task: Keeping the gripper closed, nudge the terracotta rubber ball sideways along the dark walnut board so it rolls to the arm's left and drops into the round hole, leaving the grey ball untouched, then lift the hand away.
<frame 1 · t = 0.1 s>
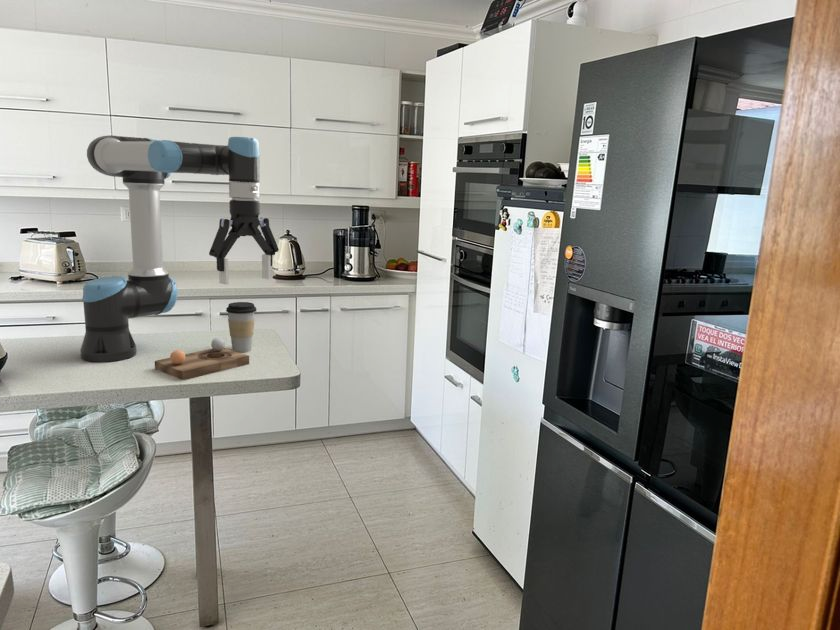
hand: (245, 281, 162), 28 cm above the table, fingers open, 13 cm apart
grey ball: (218, 344, 187), point 4 cm above the table, touching deck
coffee cup: (242, 350, 198), on the table
ball: (177, 357, 172), point 4 cm above the table, touching deck
deck: (203, 366, 179), on the table
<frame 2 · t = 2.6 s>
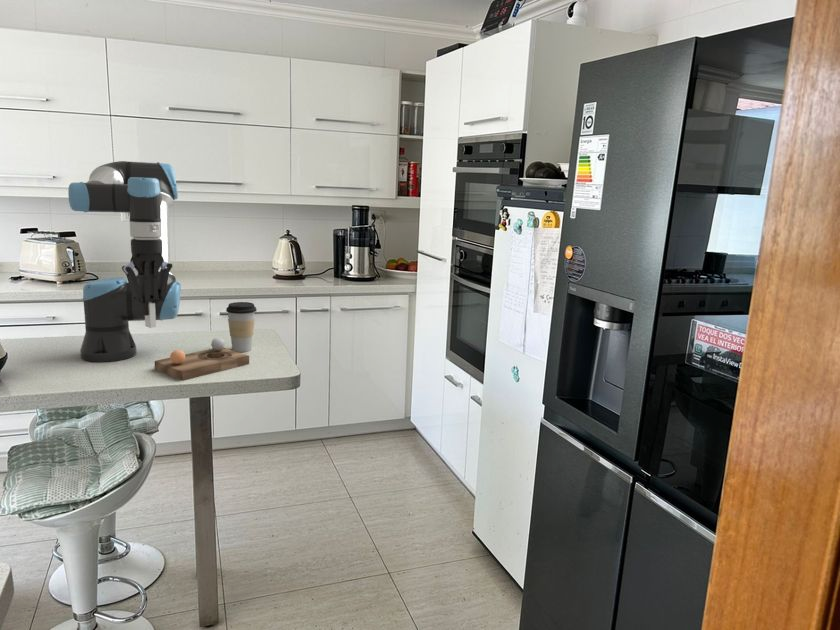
hand: (150, 326, 164), 15 cm above the table, fingers closed
nothing on the table moved.
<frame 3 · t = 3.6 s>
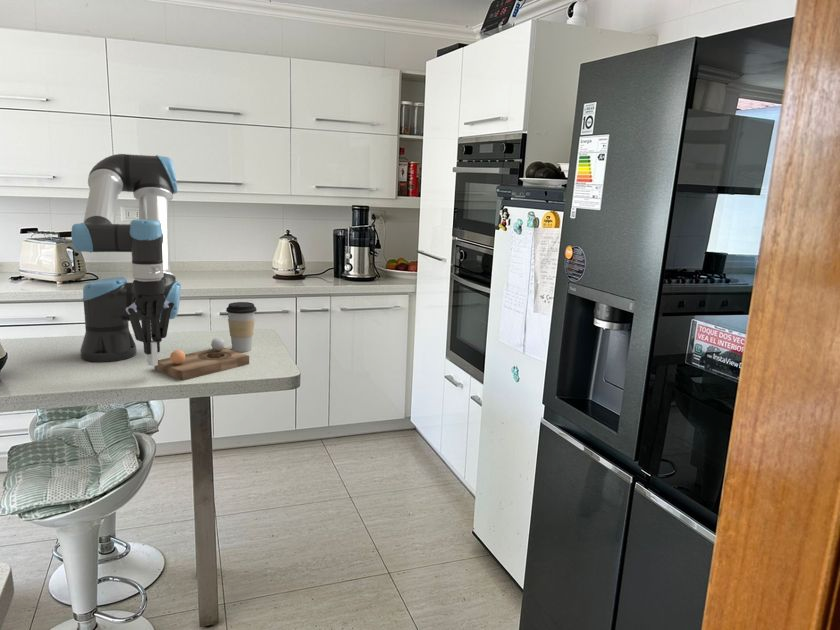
hand: (152, 364, 166), 4 cm above the table, fingers closed
nothing on the table moved.
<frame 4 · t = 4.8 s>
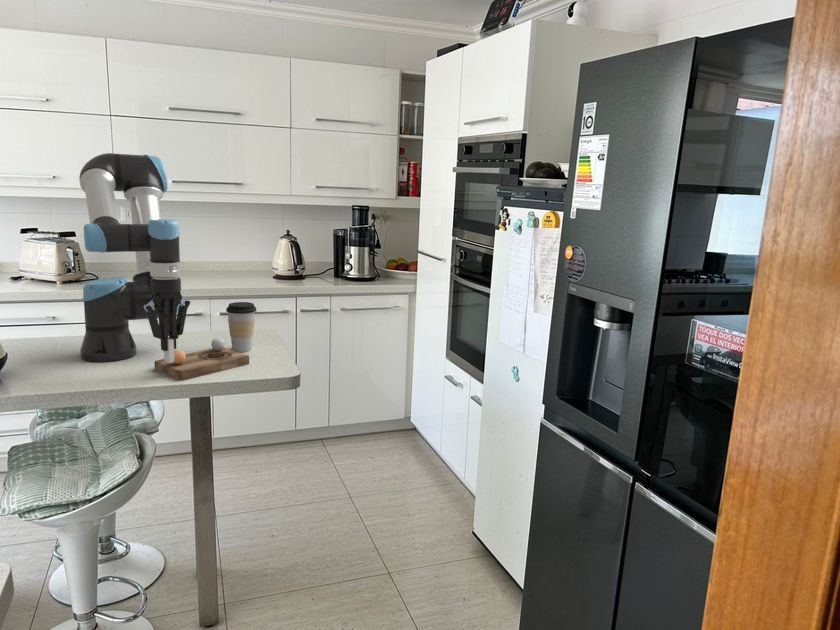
hand: (169, 361, 170), 4 cm above the table, fingers closed
ball: (177, 357, 172), point 4 cm above the table, touching deck, gripper
everything else where it was.
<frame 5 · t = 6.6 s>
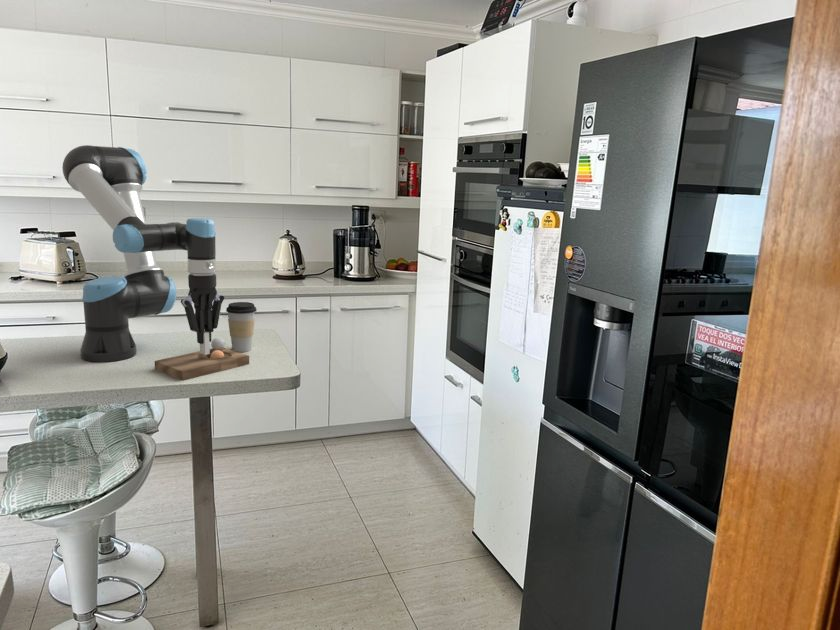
hand: (204, 353, 179), 4 cm above the table, fingers closed
ball: (217, 356, 182), point 2 cm above the table
everything else where it was.
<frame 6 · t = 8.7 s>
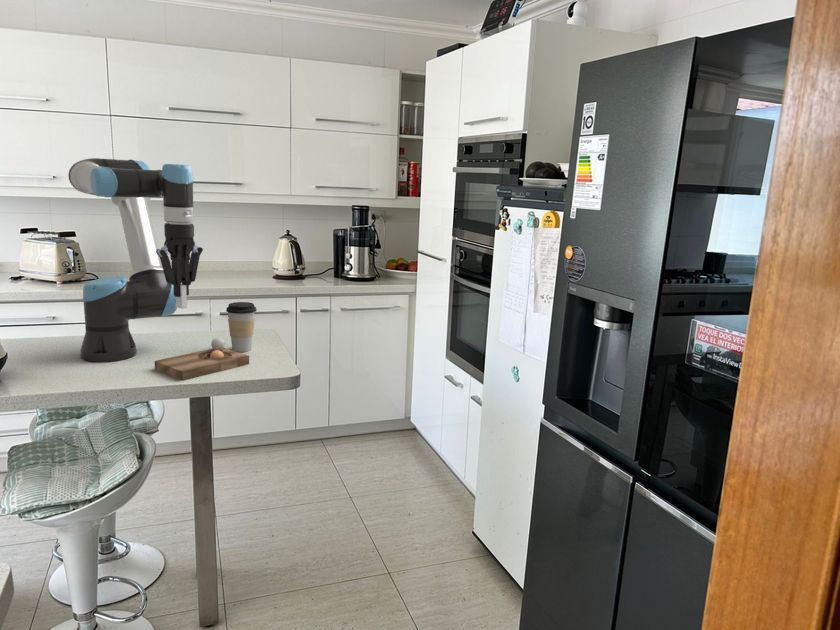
hand: (181, 307, 171), 18 cm above the table, fingers closed
nothing on the table moved.
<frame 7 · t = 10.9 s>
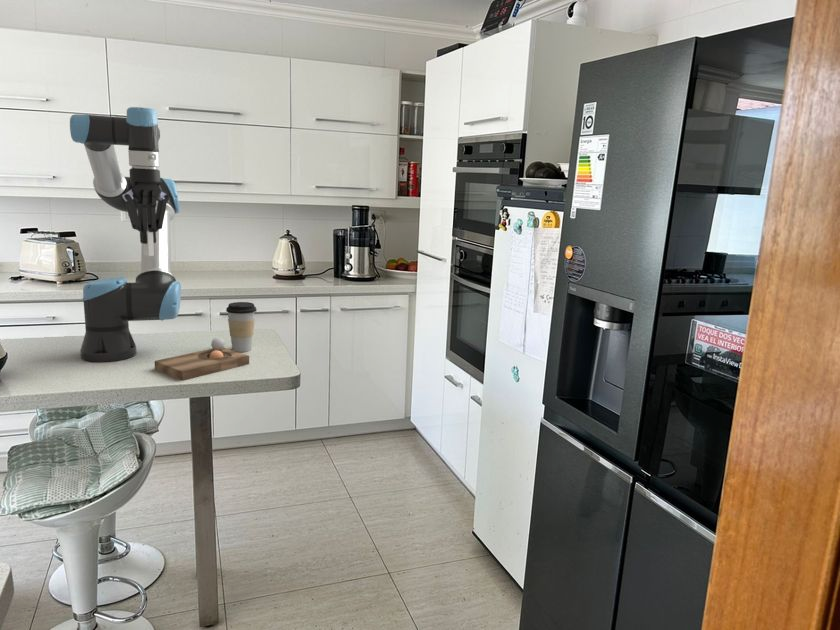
hand: (148, 255, 170), 32 cm above the table, fingers closed
nothing on the table moved.
at the end: ball 0.4 cm from the target spot in the deck, point 2.0 cm above the deck's base; grey ball moved 0.1 cm from its start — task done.
